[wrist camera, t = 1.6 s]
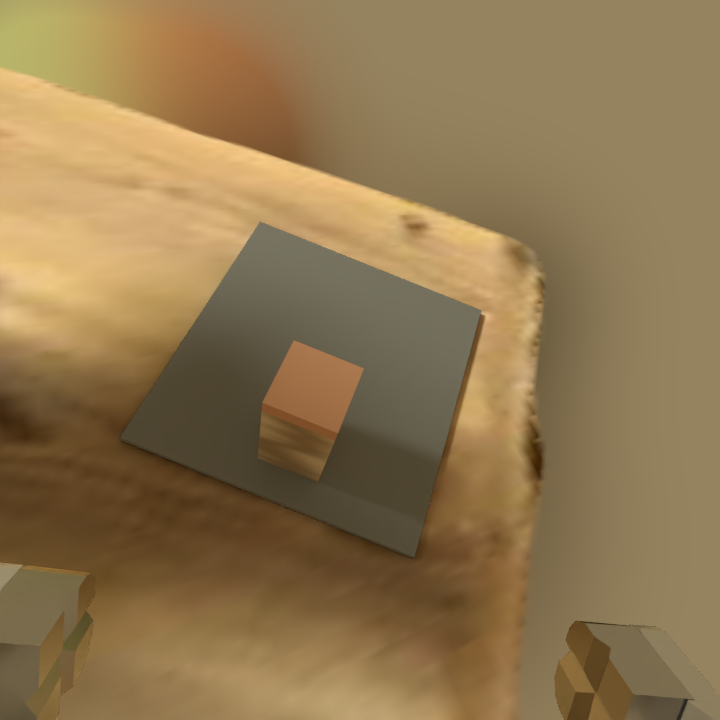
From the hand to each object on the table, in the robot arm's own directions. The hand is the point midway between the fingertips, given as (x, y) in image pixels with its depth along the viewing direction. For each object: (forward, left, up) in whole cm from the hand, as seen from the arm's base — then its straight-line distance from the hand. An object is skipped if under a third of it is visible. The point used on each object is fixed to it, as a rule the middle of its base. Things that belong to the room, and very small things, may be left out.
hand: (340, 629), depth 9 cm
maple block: (-3, +12, -22) cm, 25 cm away
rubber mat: (-4, +18, -23) cm, 29 cm away
